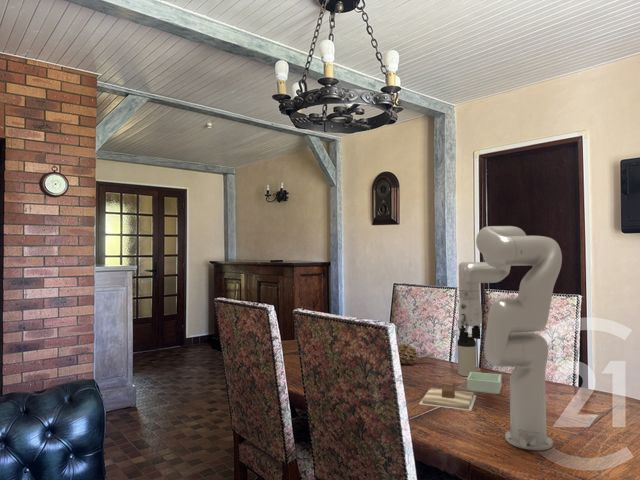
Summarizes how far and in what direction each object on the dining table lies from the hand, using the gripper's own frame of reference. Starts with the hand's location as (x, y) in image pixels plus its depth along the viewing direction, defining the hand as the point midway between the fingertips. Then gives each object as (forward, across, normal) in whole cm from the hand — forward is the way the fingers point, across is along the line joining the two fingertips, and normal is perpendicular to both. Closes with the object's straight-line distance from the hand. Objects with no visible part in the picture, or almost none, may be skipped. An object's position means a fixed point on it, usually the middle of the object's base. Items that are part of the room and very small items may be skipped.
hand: (470, 340), depth 172 cm
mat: (+22, -8, +5) cm, 24 cm away
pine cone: (+23, +31, +46) cm, 60 cm away
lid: (+21, -8, +5) cm, 23 cm away
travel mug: (+22, +31, +17) cm, 42 cm away
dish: (+22, +15, +2) cm, 27 cm away
